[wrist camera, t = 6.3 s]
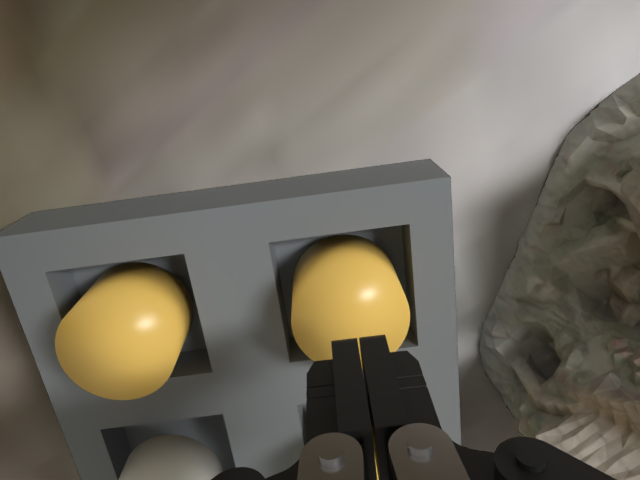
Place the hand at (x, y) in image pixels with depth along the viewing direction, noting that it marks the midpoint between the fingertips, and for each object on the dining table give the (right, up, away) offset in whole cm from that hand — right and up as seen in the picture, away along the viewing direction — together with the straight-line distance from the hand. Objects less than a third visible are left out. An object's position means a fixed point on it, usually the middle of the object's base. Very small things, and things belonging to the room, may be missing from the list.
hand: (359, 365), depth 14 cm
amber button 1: (-8, +1, +6) cm, 10 cm away
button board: (-3, -4, +10) cm, 11 cm away
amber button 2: (0, +2, +6) cm, 6 cm away
